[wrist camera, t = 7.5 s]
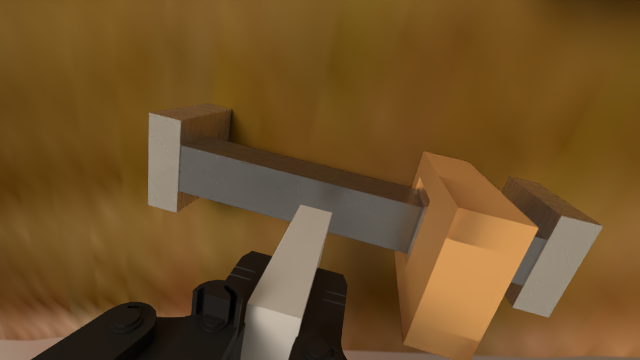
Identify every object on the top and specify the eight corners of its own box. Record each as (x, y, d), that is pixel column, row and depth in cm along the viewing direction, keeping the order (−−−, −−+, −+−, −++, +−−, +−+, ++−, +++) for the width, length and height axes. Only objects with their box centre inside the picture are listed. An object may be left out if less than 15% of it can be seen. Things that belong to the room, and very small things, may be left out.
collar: (393, 241, 23) (403, 344, 14) (423, 151, 21) (458, 207, 12) (433, 252, 23) (468, 364, 14) (468, 161, 21) (538, 227, 12)
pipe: (202, 174, 26) (147, 204, 20) (207, 103, 24) (148, 112, 18) (503, 254, 24) (548, 318, 17) (538, 183, 22) (603, 226, 15)
